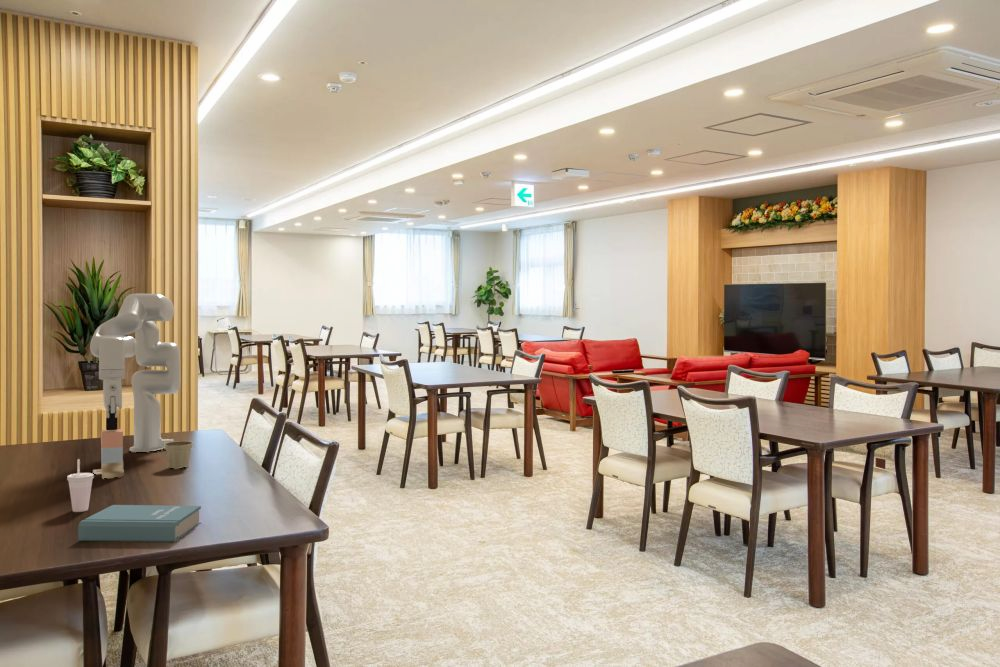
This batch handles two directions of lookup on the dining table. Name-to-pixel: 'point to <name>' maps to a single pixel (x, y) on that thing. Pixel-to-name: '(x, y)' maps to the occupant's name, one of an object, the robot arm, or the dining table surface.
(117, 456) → the slate blue brick
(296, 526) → the dining table surface
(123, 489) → the dining table surface
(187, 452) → the flower pot
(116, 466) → the maple brick
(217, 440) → the dining table surface
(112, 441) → the terracotta brick
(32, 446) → the dining table surface
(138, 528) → the book
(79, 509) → the smoothie
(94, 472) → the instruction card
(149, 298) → the robot arm
